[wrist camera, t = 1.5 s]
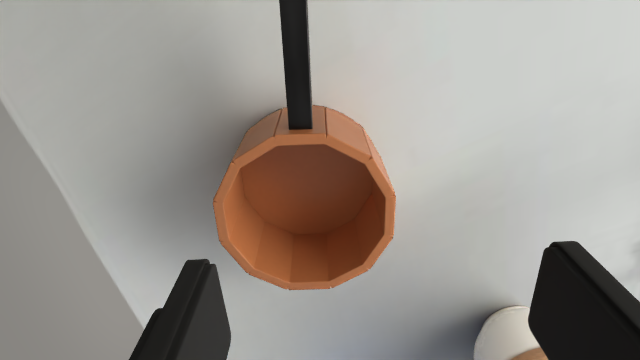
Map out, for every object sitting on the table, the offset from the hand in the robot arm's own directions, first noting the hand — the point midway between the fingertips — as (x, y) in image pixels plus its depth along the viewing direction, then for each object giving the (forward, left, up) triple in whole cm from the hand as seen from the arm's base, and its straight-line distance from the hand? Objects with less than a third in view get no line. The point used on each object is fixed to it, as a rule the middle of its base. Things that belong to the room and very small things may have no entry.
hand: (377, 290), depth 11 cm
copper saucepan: (+2, -3, -21) cm, 21 cm away
